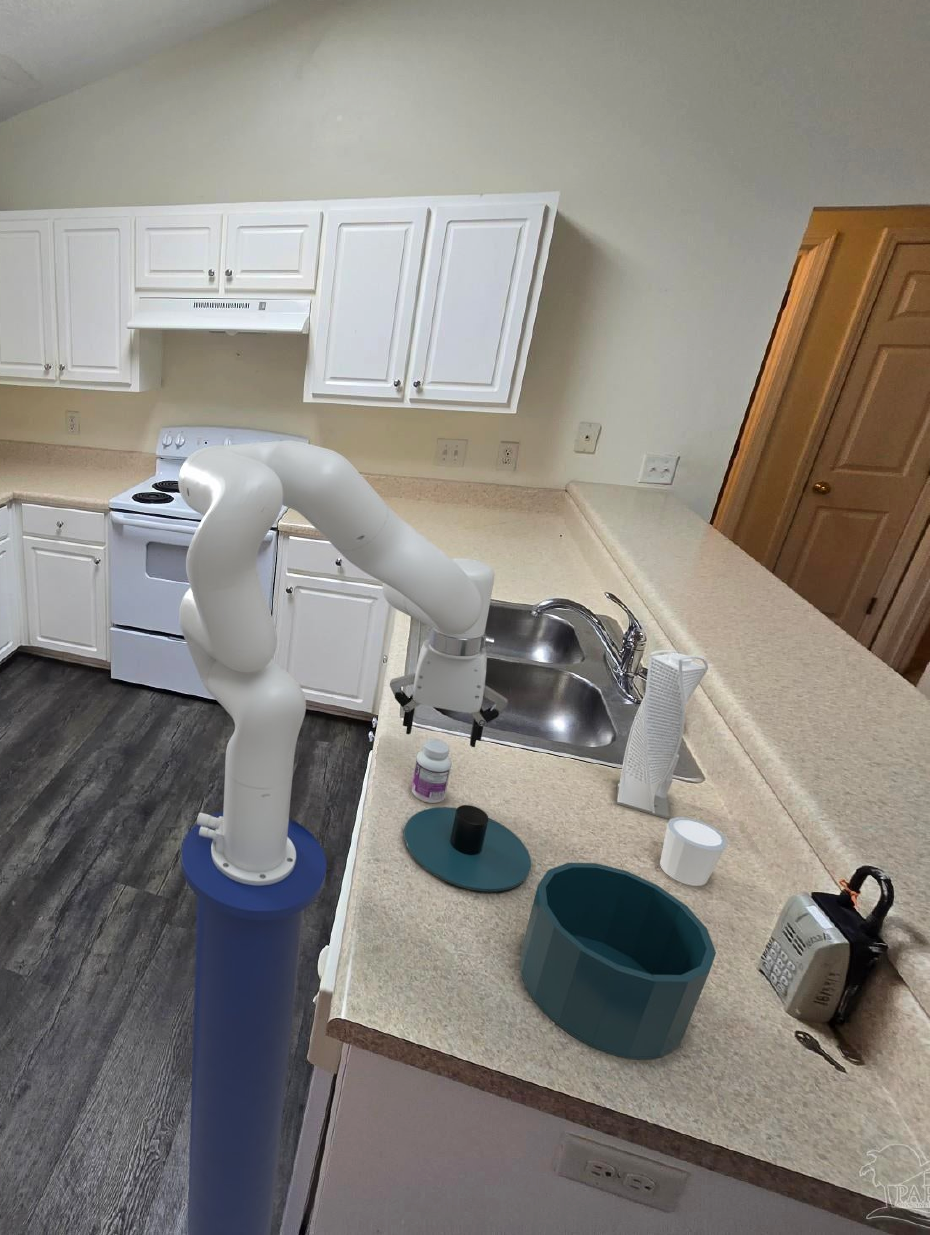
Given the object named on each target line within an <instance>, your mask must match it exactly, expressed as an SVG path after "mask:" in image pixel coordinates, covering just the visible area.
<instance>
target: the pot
mask: <svg viewBox="0 0 930 1235" xmlns="http://www.w3.org/2000/svg"><path fill="white" fill-rule="evenodd" d="M531 906H532V907H531V909H530V914H529V918H528V920H527V921H528V922H527V926H526V929H525V933H524V936H523V940H522V944H521V947H520V952H519V956H520V957H519V970H520V975H521V979H522V982H523V984H524V986H525V988H526V991H527V992H528V994H529V995H530V997H531V999H532V1000H533V1001H534V1003H535V1004H536V1005H537V1007H538V1008H539V1009H540V1010H541V1011H542V1012H543V1013H544V1014H545V1016H546V1017H548V1018H549V1019H550V1020H551V1021H552V1022H553V1023H554V1024H555V1025H557V1026H558V1027H559V1028H561V1029H562V1030H563V1031H565V1032H566V1033H568V1034H569V1035H570V1036H572V1037H573V1038H575V1039H577V1040H578V1041H580V1042H582V1043H583V1044H584V1045H587V1046H590V1047H591V1048H593V1049H596V1050H598V1051H601V1052H603V1053H606V1054H609V1055H612V1056H616V1057H618V1058H624V1059H629V1060H640V1061H643V1060H644V1061H645V1060H654V1059H659V1058H660V1059H661V1058H662V1057H665V1056H667V1055H669V1054H671V1053H672V1052H673V1051H675V1050H676V1048H678V1047H679V1046H681V1043H682V1041H683V1038H684V1036H685V1033H686V1031H687V1029H688V1026H689V1024H690V1021H691V1019H692V1016H693V1013H694V1011H695V1009H696V1007H697V1004H698V1001H699V999H700V997H701V994H702V991H703V990H704V987H705V984H706V982H707V979H708V976H709V974H710V971H711V969H712V966H713V963H714V960H715V957H716V954H717V952H716V949H715V947H714V946H715V945H714V943H713V940H712V938H711V935H710V933H709V930H708V928H707V927H706V926H705V925H704V923H702V921H701V920H700V919H699V918H698V917H697V916H696V914H695V913H694V912H693V911H692V909H690V908H689V907H688V905H686V904H685V903H683V902H682V901H681V900H679V899H678V898H676V897H675V896H674V895H672V894H671V893H670V892H668V891H666V890H665V889H664V888H662V887H661V886H659V885H658V884H657V883H653V882H651V881H650V880H648V879H644V878H643V877H641V876H638V875H636V874H634V873H632V872H630V871H628V870H625V869H621V868H618V867H617V868H616V867H612V866H610V865H605V864H601V863H597V862H566V863H564V864H560V865H558V866H555V867H552V868H550V869H548V870H547V871H546V872H545V874H544V875H543V877H542V878H541V879H540V881H539V882H538V884H537V887H536V891H535V895H534V898H533V902H532V905H531Z"/></svg>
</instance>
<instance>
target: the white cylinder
mask: <svg viewBox="0 0 930 1235" xmlns="http://www.w3.org/2000/svg"><path fill="white" fill-rule="evenodd" d="M728 844H729V843H728V840H727V838H726V836H725V835H724V834H723V833H722V832H721V831H720V830H718V829H717V828H715V827H713V826H712V825H710V824H709V823H706V822H703V821H701V820H699V819H695V818H691V817H687V816H676V817H672V818H670V819H668V822H667V825H666V830H665V834H664V840H663V846H662V850H661V855H660V859H659V865H660V869H661V870H662V871H663V872H664V873H665V874H666V875H667V876H668V877H670V878H671V879H673V880H674V881H676V882H679V883H681V884H683V885H687V886H691V887H702V886H705V885H706V884H707V882H708V880H709V879H710V877H711V875H712V873H713V872H714V869H715V868H716V866H717V864H718V862H719V861H720V859H721V857H722V855H723V853H724V852H725V851H726V850H725V849H726V848H727V846H728Z"/></svg>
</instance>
